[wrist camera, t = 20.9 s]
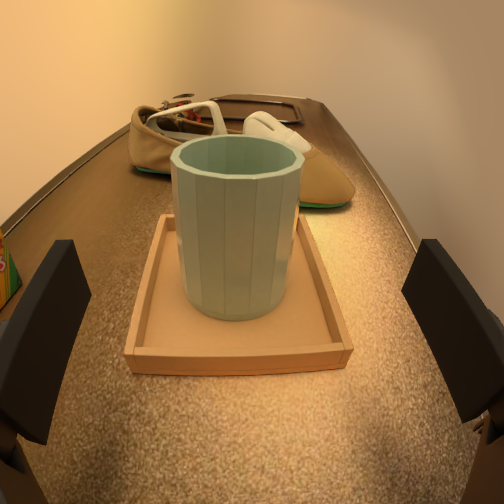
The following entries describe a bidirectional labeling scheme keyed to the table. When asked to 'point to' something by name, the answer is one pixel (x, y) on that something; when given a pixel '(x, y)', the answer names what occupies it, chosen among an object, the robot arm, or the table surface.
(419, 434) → the table surface
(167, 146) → the ballet flat
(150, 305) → the tray
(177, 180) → the rice cup
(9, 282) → the crayon box
